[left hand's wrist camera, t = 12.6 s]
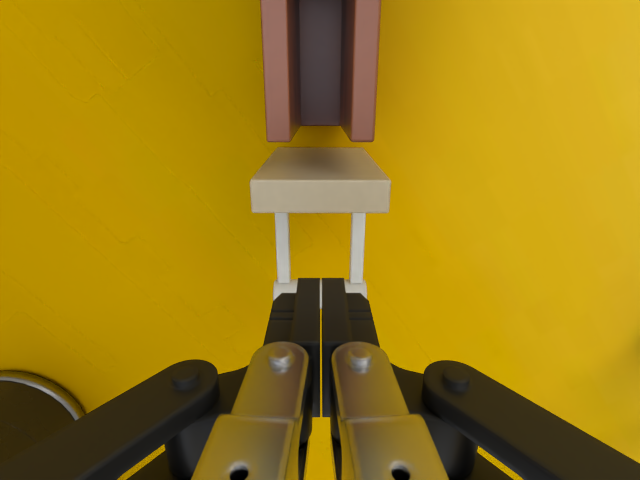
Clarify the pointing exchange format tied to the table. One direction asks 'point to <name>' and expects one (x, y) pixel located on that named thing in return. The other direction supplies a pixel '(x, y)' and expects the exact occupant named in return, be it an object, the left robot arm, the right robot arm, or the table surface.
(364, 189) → the drawer
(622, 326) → the table surface
